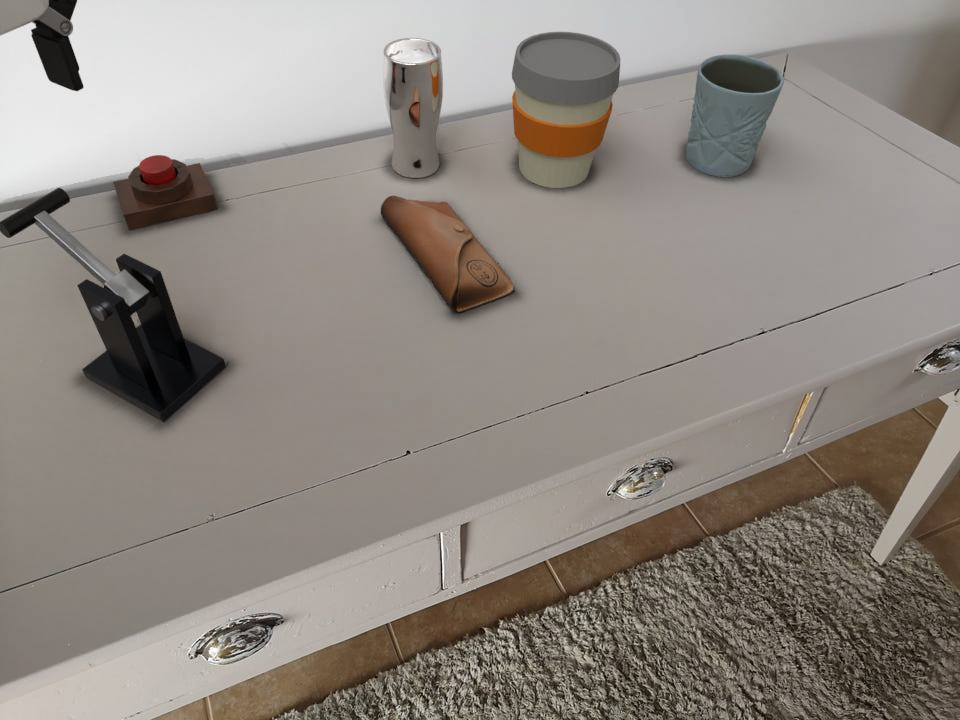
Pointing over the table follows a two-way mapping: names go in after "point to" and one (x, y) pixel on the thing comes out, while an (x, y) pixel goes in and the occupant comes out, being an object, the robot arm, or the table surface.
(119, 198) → the control block
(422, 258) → the sunglasses case
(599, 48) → the reusable coffee cup
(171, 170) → the button
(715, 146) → the embossed green cup
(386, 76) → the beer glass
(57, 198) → the lever
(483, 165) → the table surface
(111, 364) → the bracket
